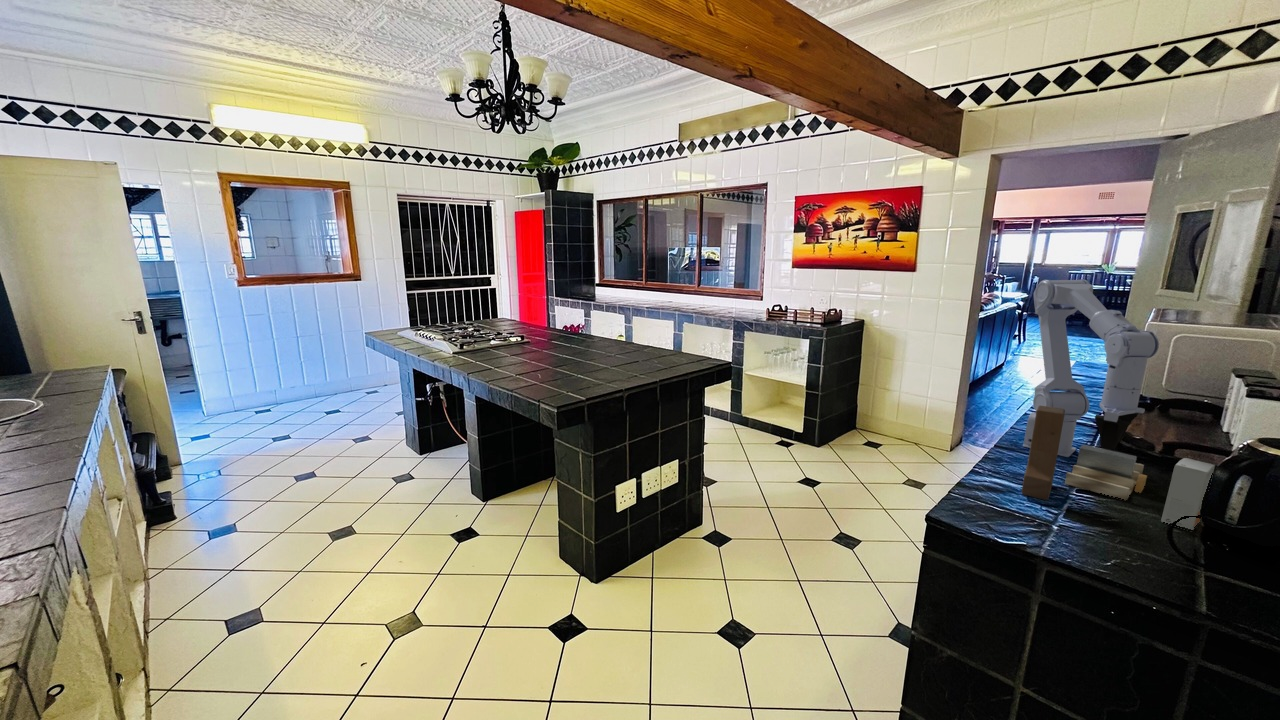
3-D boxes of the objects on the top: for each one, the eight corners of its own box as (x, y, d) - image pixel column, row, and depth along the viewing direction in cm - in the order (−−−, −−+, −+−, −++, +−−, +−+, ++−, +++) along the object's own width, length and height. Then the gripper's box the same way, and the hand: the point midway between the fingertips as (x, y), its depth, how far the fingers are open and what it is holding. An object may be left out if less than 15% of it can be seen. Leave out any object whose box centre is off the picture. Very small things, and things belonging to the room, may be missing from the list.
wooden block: (1047, 501, 102) (1062, 419, 98) (1020, 494, 105) (1033, 415, 101) (1051, 486, 109) (1065, 408, 105) (1026, 480, 112) (1038, 404, 108)
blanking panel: (1075, 471, 114) (1079, 447, 112) (1078, 468, 116) (1082, 444, 114) (1128, 485, 107) (1134, 460, 106) (1131, 481, 109) (1136, 456, 107)
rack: (1064, 483, 110) (1066, 472, 109) (1084, 461, 120) (1086, 451, 120) (1135, 503, 101) (1137, 491, 100) (1149, 477, 112) (1152, 466, 111)
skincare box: (1192, 532, 90) (1208, 472, 88) (1160, 522, 94) (1173, 464, 91) (1201, 522, 93) (1216, 464, 91) (1169, 513, 97) (1182, 456, 94)
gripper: (1142, 396, 99) (1129, 459, 102) (1154, 383, 108) (1141, 441, 111) (1096, 389, 104) (1084, 449, 107) (1110, 377, 113) (1099, 433, 116)
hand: (1110, 444), depth 109 cm, fingers open, 6 cm apart
